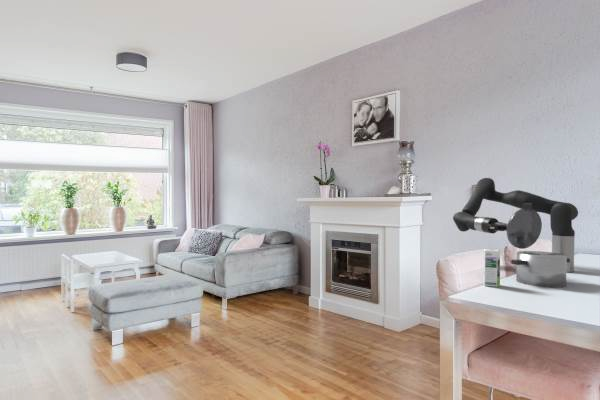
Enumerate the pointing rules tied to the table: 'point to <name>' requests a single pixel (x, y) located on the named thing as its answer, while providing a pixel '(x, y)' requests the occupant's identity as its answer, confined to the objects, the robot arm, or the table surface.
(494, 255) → the syrup box
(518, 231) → the lid
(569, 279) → the table surface
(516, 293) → the table surface
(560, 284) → the pot
